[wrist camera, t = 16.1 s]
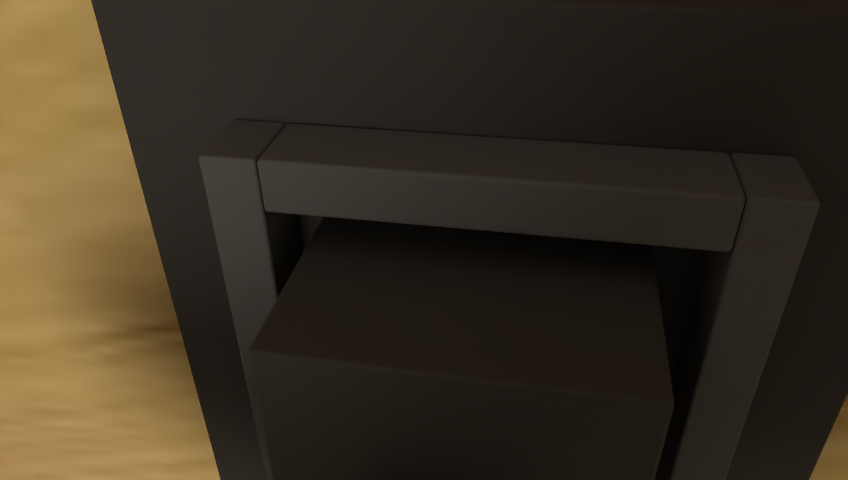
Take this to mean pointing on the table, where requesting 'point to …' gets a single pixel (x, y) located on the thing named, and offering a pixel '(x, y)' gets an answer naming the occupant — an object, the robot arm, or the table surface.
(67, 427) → the table surface
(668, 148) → the base pad
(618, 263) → the black block
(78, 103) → the table surface
